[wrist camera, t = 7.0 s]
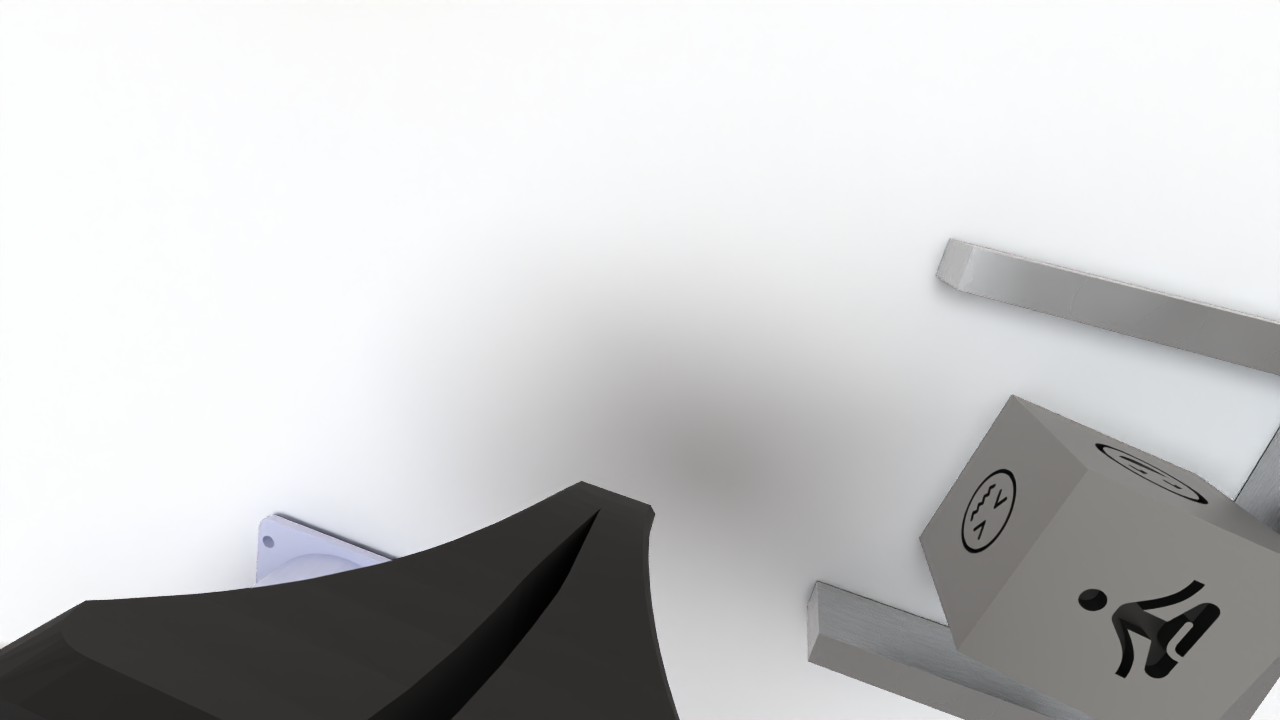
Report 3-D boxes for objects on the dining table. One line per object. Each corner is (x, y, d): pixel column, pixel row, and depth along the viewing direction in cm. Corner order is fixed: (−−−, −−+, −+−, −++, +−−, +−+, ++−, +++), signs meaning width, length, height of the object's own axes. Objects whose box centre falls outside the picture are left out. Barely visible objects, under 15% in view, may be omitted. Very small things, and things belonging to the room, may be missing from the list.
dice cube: (1083, 614, 18) (1179, 759, 14) (919, 537, 19) (956, 650, 14) (1195, 473, 17) (1347, 584, 12) (1011, 393, 17) (1088, 469, 13)
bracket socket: (1167, 735, 19) (1234, 836, 16) (807, 606, 20) (807, 676, 17) (1416, 356, 15) (1565, 397, 12) (950, 238, 17) (980, 249, 14)
